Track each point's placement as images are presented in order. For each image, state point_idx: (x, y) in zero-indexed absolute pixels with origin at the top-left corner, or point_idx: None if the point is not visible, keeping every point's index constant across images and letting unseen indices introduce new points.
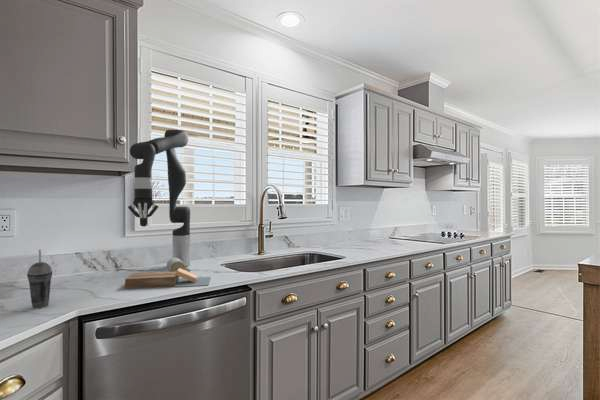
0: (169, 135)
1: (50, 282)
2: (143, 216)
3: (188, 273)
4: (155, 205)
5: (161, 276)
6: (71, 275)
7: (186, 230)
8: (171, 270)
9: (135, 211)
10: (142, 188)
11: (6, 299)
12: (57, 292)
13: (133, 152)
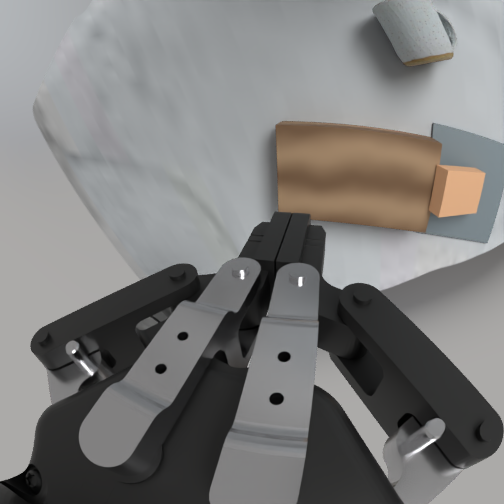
0: None
1: (171, 313)
2: (263, 292)
3: (465, 194)
4: (432, 478)
5: (387, 213)
6: (84, 40)
7: None
8: (403, 63)
9: (136, 331)
10: None
11: (102, 229)
12: (142, 200)
13: None
